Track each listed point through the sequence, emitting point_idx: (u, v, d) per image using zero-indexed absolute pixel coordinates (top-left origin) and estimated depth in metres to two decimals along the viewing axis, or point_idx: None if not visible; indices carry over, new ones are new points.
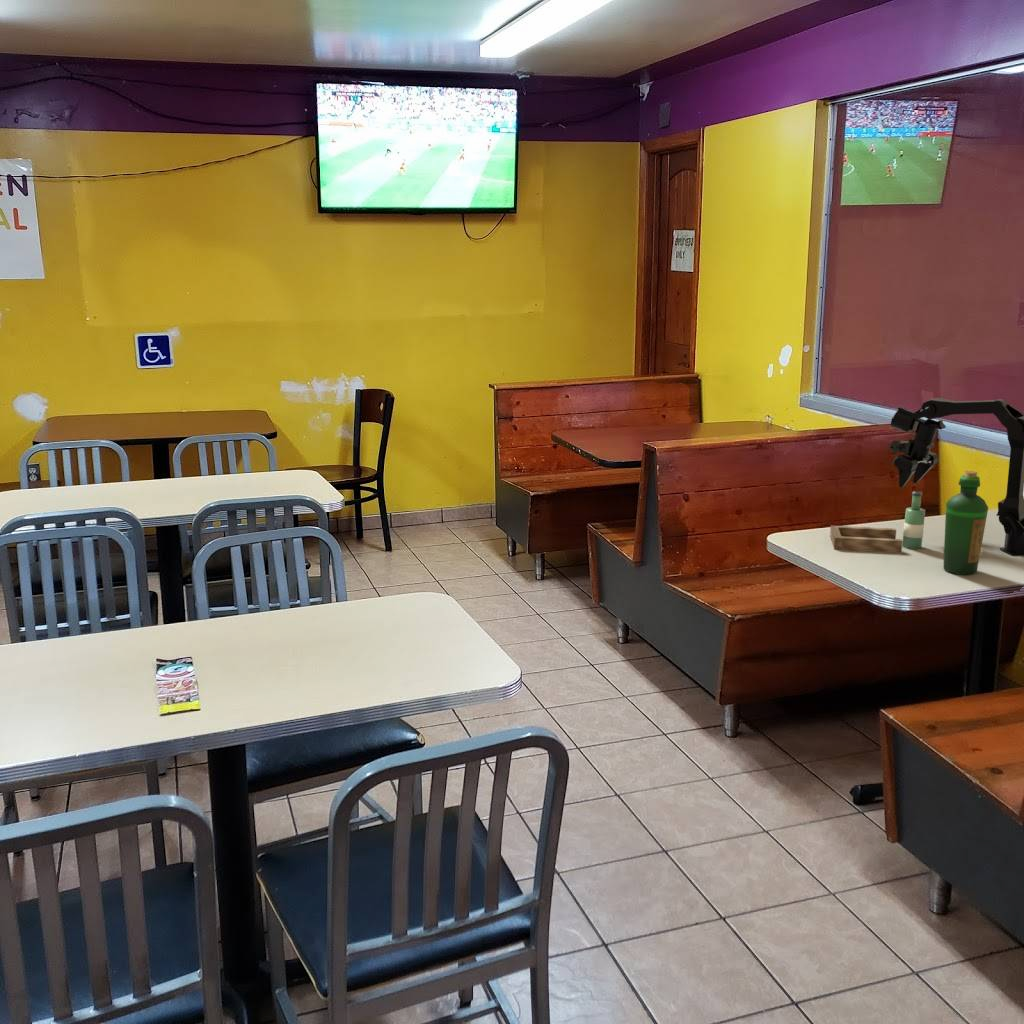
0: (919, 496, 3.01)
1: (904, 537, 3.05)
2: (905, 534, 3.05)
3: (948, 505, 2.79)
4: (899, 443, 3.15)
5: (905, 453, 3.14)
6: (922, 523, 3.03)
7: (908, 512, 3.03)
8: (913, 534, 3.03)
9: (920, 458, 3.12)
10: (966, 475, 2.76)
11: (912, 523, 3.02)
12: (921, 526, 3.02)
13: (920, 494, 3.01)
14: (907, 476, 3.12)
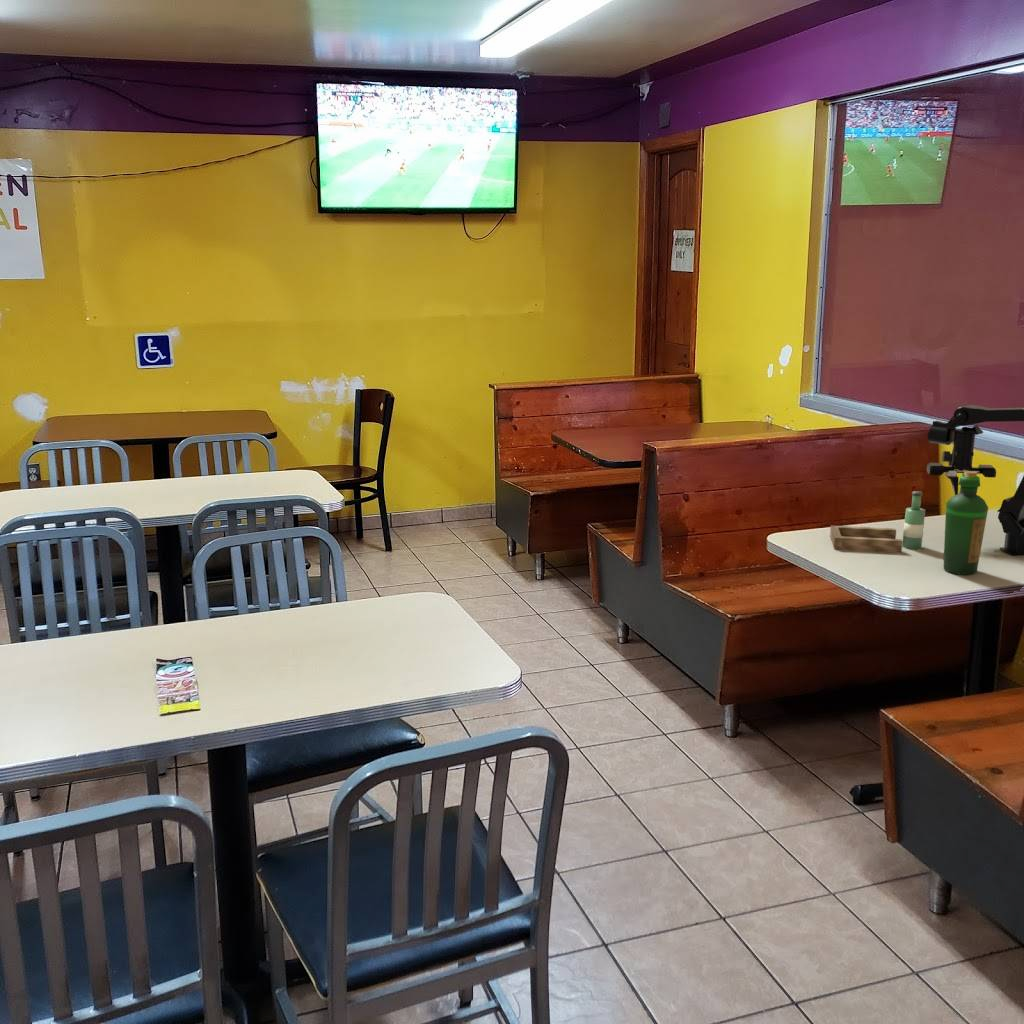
0: (919, 496, 3.01)
1: (904, 537, 3.05)
2: (905, 534, 3.05)
3: (948, 505, 2.79)
4: (946, 454, 3.14)
5: (949, 463, 3.12)
6: (922, 523, 3.03)
7: (908, 512, 3.03)
8: (913, 534, 3.03)
9: (954, 466, 3.07)
10: (966, 475, 2.76)
11: (912, 523, 3.02)
12: (921, 526, 3.02)
13: (920, 494, 3.01)
14: (953, 484, 3.09)
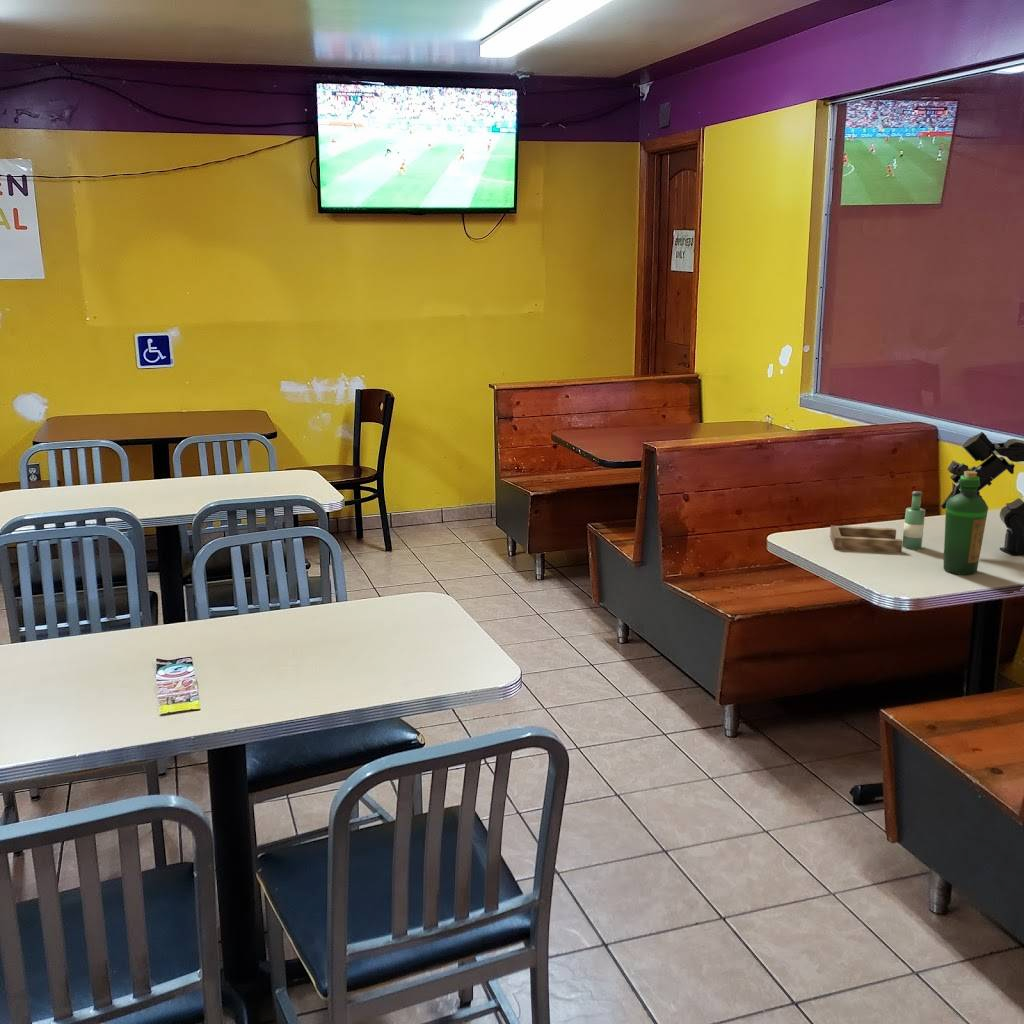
0: (919, 496, 3.01)
1: (904, 537, 3.05)
2: (905, 534, 3.05)
3: (948, 505, 2.79)
4: (967, 469, 2.94)
5: None
6: (922, 523, 3.03)
7: (908, 512, 3.03)
8: (913, 534, 3.03)
9: (977, 492, 2.97)
10: (966, 475, 2.76)
11: (912, 523, 3.02)
12: (921, 526, 3.02)
13: (920, 494, 3.01)
14: None
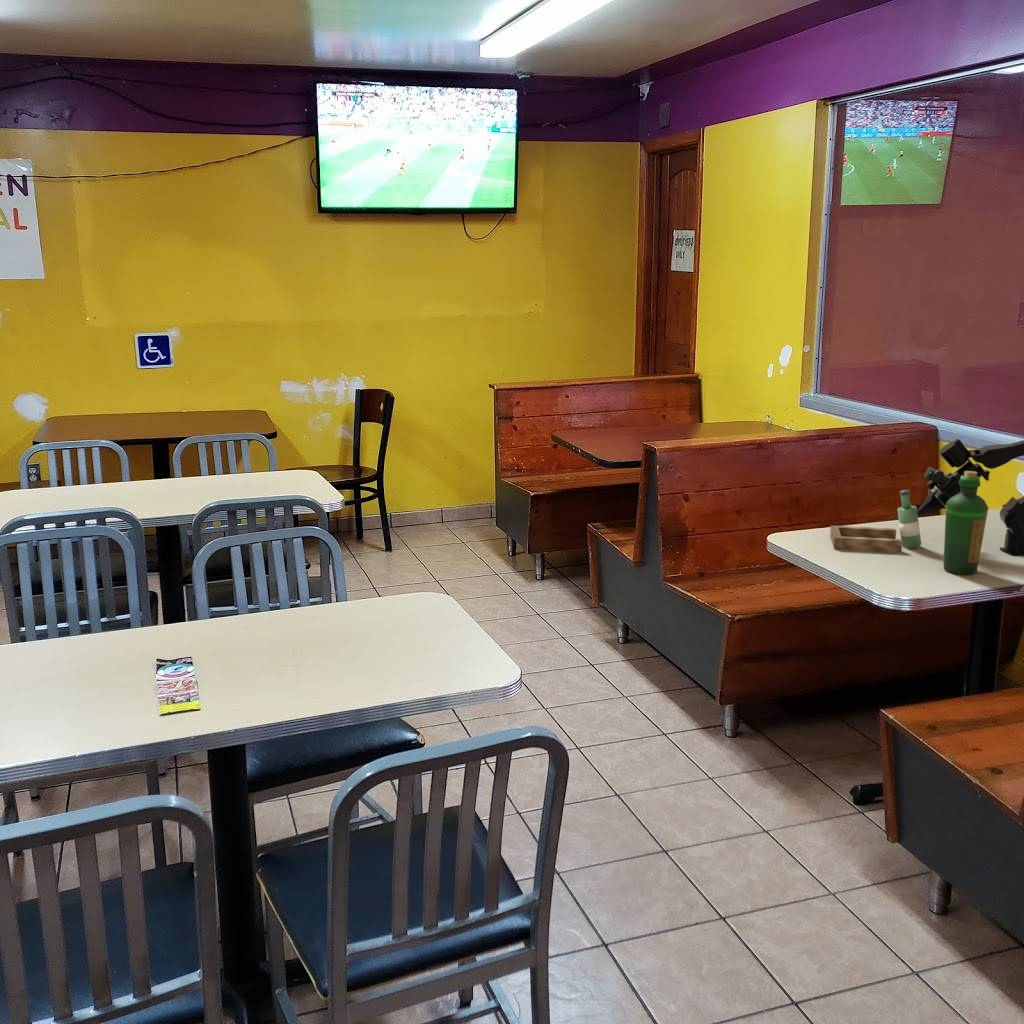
0: (907, 494, 3.02)
1: (902, 537, 3.06)
2: (902, 534, 3.05)
3: (948, 505, 2.79)
4: None
5: (941, 487, 2.98)
6: (916, 520, 3.03)
7: (900, 512, 3.03)
8: (910, 533, 3.03)
9: None
10: (966, 475, 2.76)
11: (906, 522, 3.03)
12: (916, 523, 3.03)
13: (907, 492, 3.02)
14: (934, 508, 3.01)
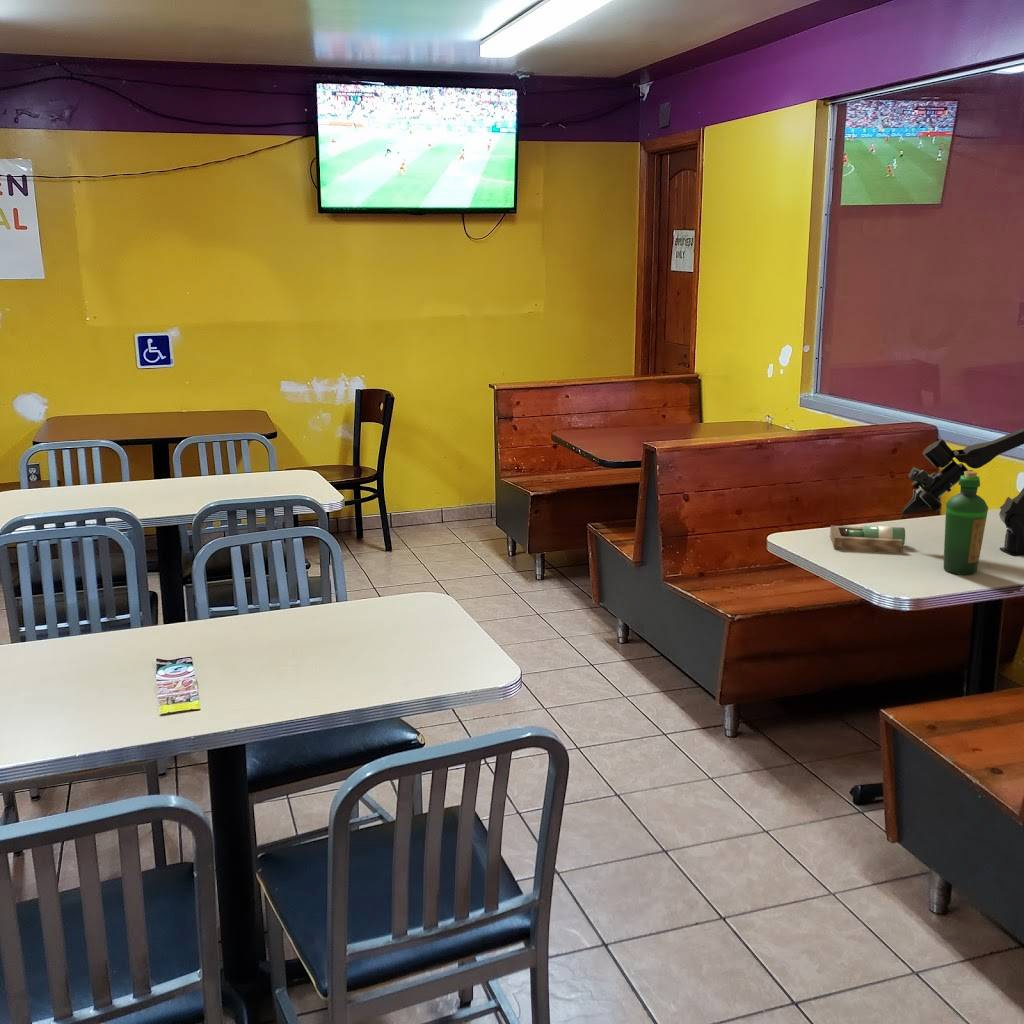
0: (849, 533, 3.08)
1: None
2: None
3: (948, 505, 2.79)
4: None
5: (926, 487, 2.99)
6: (877, 530, 3.06)
7: None
8: None
9: (936, 498, 2.99)
10: (966, 475, 2.76)
11: None
12: (880, 531, 3.05)
13: (846, 532, 3.08)
14: (919, 508, 3.02)
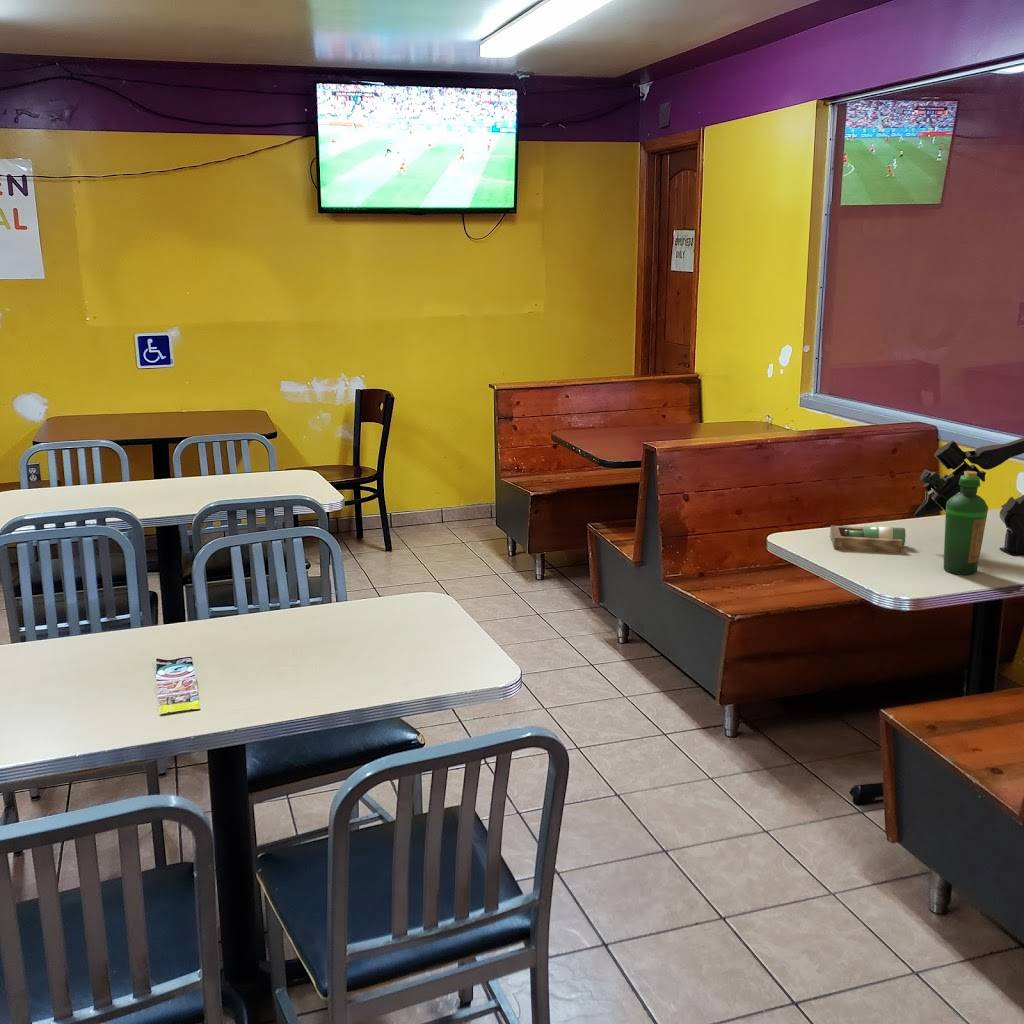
0: (849, 534, 3.08)
1: None
2: None
3: (948, 505, 2.79)
4: None
5: (938, 489, 2.98)
6: (877, 532, 3.05)
7: None
8: None
9: None
10: (966, 475, 2.76)
11: None
12: (880, 533, 3.05)
13: (847, 533, 3.08)
14: (932, 511, 3.01)
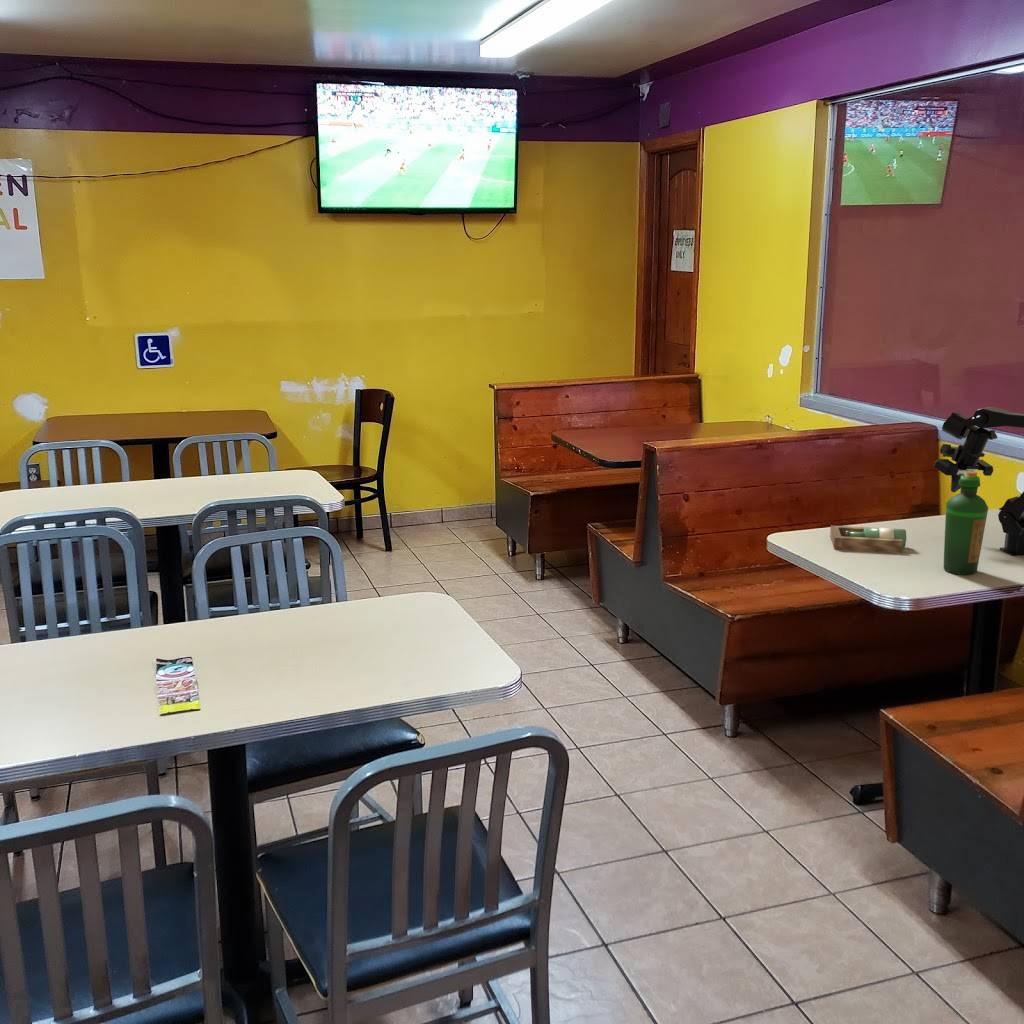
0: None
1: None
2: None
3: (948, 505, 2.79)
4: (948, 447, 3.10)
5: (952, 458, 3.09)
6: None
7: None
8: None
9: (965, 466, 3.06)
10: (966, 475, 2.76)
11: None
12: None
13: None
14: (958, 481, 3.09)
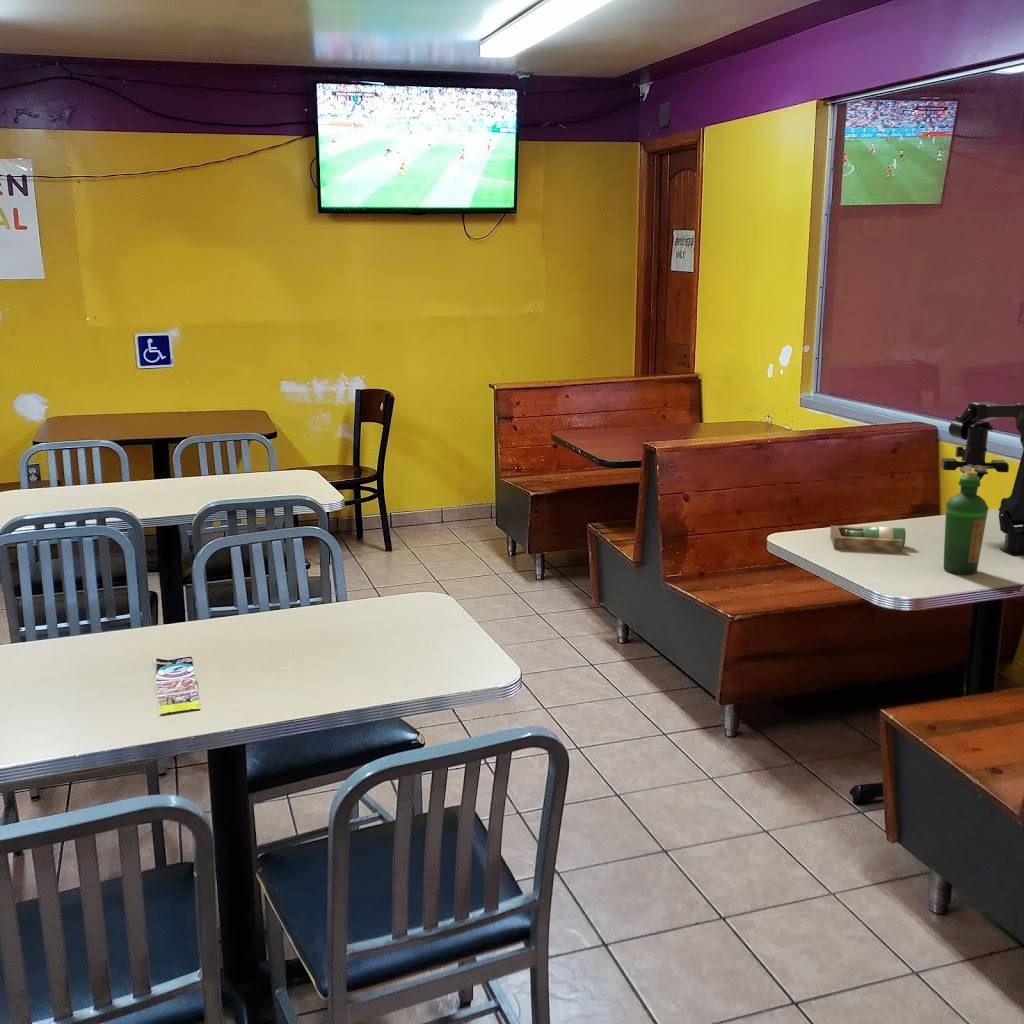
0: (849, 534, 3.08)
1: None
2: None
3: (948, 505, 2.79)
4: (959, 449, 3.21)
5: (962, 458, 3.19)
6: (877, 532, 3.05)
7: None
8: None
9: (967, 461, 3.14)
10: (966, 475, 2.76)
11: None
12: (880, 534, 3.04)
13: (847, 533, 3.08)
14: None
